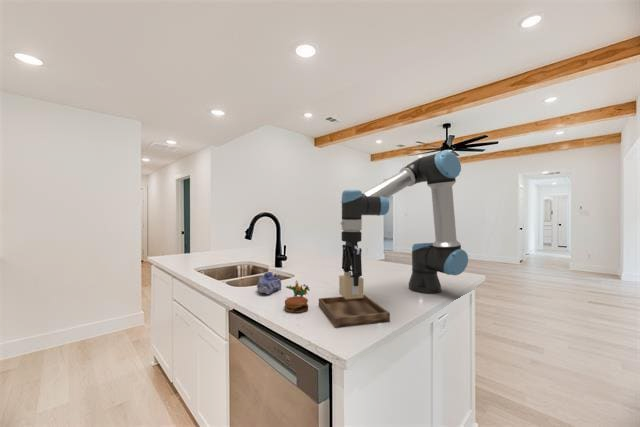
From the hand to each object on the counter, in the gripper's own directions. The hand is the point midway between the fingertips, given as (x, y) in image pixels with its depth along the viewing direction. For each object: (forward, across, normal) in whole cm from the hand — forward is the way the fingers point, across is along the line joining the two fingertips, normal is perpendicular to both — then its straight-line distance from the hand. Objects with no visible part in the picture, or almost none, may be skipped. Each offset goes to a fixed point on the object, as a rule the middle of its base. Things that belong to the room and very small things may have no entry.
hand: (351, 291), depth 103 cm
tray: (+8, 0, 0) cm, 8 cm away
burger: (+9, -10, -19) cm, 23 cm away
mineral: (+9, -37, -29) cm, 47 cm away
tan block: (+2, 0, 0) cm, 2 cm away
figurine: (+9, -22, -17) cm, 29 cm away
